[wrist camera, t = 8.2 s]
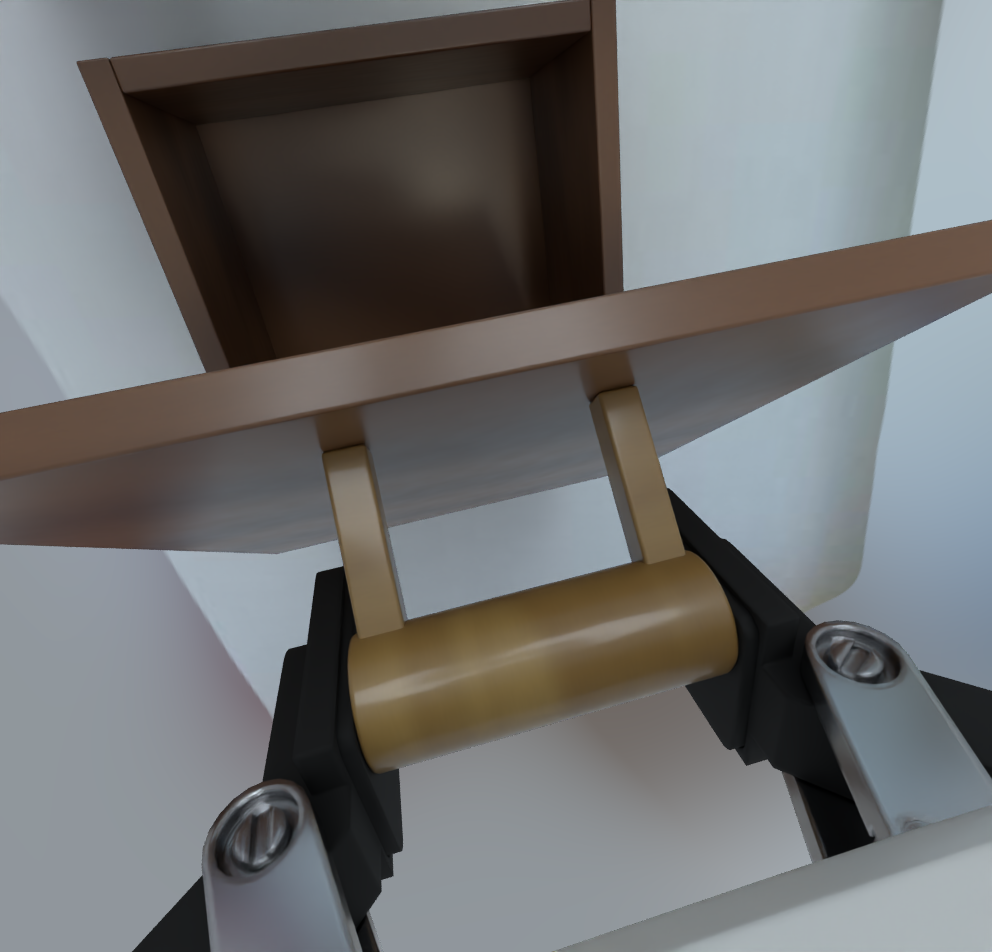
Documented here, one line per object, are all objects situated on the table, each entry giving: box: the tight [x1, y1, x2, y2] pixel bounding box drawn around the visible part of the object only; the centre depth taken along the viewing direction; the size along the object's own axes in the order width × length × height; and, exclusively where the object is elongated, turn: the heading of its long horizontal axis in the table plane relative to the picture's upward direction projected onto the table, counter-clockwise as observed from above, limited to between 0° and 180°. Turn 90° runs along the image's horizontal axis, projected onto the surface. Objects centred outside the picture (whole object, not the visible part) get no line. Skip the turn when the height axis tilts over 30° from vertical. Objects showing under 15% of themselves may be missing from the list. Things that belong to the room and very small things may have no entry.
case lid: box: [0, 220, 992, 774], centre depth 15 cm, size 18×17×6 cm
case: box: [77, 0, 623, 373], centre depth 25 cm, size 17×17×9 cm
